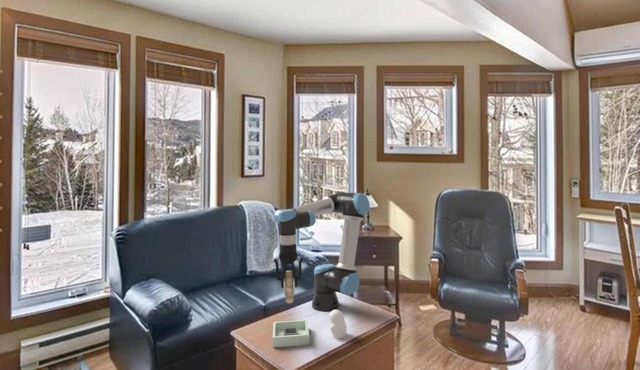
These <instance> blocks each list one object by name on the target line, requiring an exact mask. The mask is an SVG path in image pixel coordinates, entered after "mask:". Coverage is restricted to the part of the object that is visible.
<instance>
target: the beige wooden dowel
mask: <svg viewBox="0 0 640 370" xmlns="http://www.w3.org/2000/svg"><path fill="white" fill-rule="evenodd" d="M293 279H294V275H293V270H285V274H284V280H285V290H286V296H285V303H286V304H292V303H294V295H293Z"/></svg>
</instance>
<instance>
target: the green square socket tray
mask: <svg viewBox="0 0 640 370" xmlns="http://www.w3.org/2000/svg"><path fill="white" fill-rule="evenodd" d="M299 346H310V332H309V325H308V320H307V319H299V320H288V321H287V320H286V321H285V320H283V321H273V323H272V348H273V349H274V348H283V347H284V348H286V347H299Z"/></svg>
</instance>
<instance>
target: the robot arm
mask: <svg viewBox="0 0 640 370" xmlns="http://www.w3.org/2000/svg"><path fill="white" fill-rule="evenodd" d="M370 208H371V206H370V200H369V198H368V196H367V195H366V194H364V193H361V192H360V193H359V192H338V193H333V194H330V195H327V196H324V197H323V198H322V199H320V200H317V201H313V202H309V203H306V204H302V205H298V206H295V207H292V208H288V209H287V208H285V209H283V208H282V209H278V210H276V211H275V213H274V216H273V220H274V221H275V223H276V224H277V225H279V226H278V227H279V228H278V229H279V255H278V256H277V257H273V262H274V265H275V273H276V274H275V275H276V280H277V281H280V286H281V288H282V289H283V296H285V297H286V290H285V271H286V267H287V265H290V266H291V271H293V296H295V295H296V288H297V287H298V280H300V279H302V265H303V264H302V263H303V260H304V257H303V256H300V255H298V253H297V251H298V250H297V230H299V229H304V228H311V227H312V226H314V225H315V224H316V220H317V219H316V216H317V217H318V216H320V215H324V214H332V213H338V214H339V213H340V214H342V217H343V219H344V223H343V229H342V235H341V243H340V249H339V257H338V263H337V264H336V265H335V264H334V263H325V264H323V263H322V264H319V265H316V266H315V267H314V269H313V279H314V280H313V281H314V294H313V298H312V300H311V307H312V308H313V309H314V310H316V311H320V312H328V311H330V312H331V311H333V310H338V308H339V306H340V301H339V298H338V296H337V293H339V294H341V295H347V296H349V295H353V294H354V293H355V292H356V291H357V290H358V288H359V286H360V276H359V275H358V273H357V268H356V267H355V261H356V254H357V247H358V240H359V234H360V226H361V222H362V221H363V220H364V218H365V216H366V215H368V213H369V212H370ZM296 260H297V261H298V266H297V267H298V269H297V270H298V271H297V272H296V267H295V262H296ZM280 261H281V262H282V270H281V275H280V268H279V267H280V265H279V262H280ZM297 273H298V274H297Z"/></svg>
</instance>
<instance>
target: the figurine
mask: <svg viewBox="0 0 640 370" xmlns="http://www.w3.org/2000/svg"><path fill="white" fill-rule="evenodd" d="M329 320H330V331H331V335H332V336H333V338H334V339H335V338H336V339H344V338H346V337H347V336H346V335H347V323H346V320H345V317H344V314H343V313H342V311H341V310H339V309H334V310H331V311H330V313H329Z"/></svg>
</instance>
